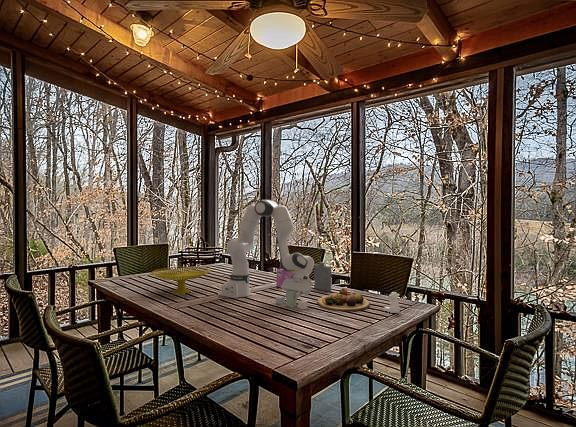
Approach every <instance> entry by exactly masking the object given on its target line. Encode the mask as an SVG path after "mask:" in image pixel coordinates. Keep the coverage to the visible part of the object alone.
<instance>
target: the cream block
mask: <svg viewBox="0 0 576 427" xmlns="http://www.w3.org/2000/svg"><path fill="white" fill-rule="evenodd" d="M308 303H309V301H308V300H303V299H301V300H299V301H298V303H297V308H298V309H302V310H306V309H308Z"/></svg>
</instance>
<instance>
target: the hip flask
mask: <svg viewBox="0 0 576 427" xmlns="http://www.w3.org/2000/svg"><path fill="white" fill-rule="evenodd" d="M313 269H314V281H313V285H314V286H313V287H314V289H316V290H320V291H324V292H330V293H331V292H332V266H329V265H325V262H323V261H320V262H319V264H318V263H314V267H313Z"/></svg>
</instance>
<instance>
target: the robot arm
mask: <svg viewBox="0 0 576 427" xmlns="http://www.w3.org/2000/svg"><path fill="white" fill-rule="evenodd" d="M261 217H272V218H273V220H274V223H275V228H276V240H277V246H278V250H279V256H280V258H279V264H280V268H282V269H283V270H285V271H291V270H293V269H296V273H295V275H294V277H293V278H290V277H288V278H286V279H285V281H284V282H283V284H282V285H281V287H280V288H281V290H282V291H285V293H286V292H287V291H296V292H297V295H295V296H294V299H297V300H298V298H299V297H301V295H305V296H308V295H309V294H310V293H311V291H312V289H313V288H312V287H313V285H314V281H312V280H311V278H310V277H309V276H310V275H311V274H312V271H313V269H314V267H315V260H314V259H313V258H312V257H311V256H310V255H303V254H302V253H300V252H294V253H291V254H290V252H289V251H290V250H289V246H288V239H289V237H290V236H291V235H292V233H293V232H294V222H293V220H292V216H291V214H290V212H289V209H288V208H287V207H286V206H285V205H281V204H279V203H278V202H277V201H275V200H272V199H259V200H258V201H256V203H255V204H254V203H252V204H249V205H248V207H247V209H246V210H245V212H244V214H243V216H242V219H241V222H240V225H239V227H238V228H239V236H238V237H237V238H233V239H231V240H230V241H229V242H227V245H226V251H227V252H228V253H229V256H230V258H231V265H232V268H231V269H232V273H231V274H230V275H228V277H229V280H227V281H226V282H225V283H224V284H222V287H221V290H220V291H219V292H218V293H217V295H218V296H222V297H228V298H232V299H233V298H235V299H236V298H245V297H249V296H251V295H252V292H251V289H250V273H249V270H250V268H249V265H250V264H249V261H248V258H247V255H246V253H249V252H250V251H252V250H253V248H254V246H255V244H254V237H255V232H256V230H257V228H258V225H259V222H260V220H261V219H262V218H261ZM284 297H285V298H286V294H285V296H284Z"/></svg>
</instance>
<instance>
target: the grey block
mask: <svg viewBox="0 0 576 427" xmlns="http://www.w3.org/2000/svg"><path fill="white" fill-rule="evenodd" d="M275 304H277V305H284V304H286V297H285V296H283V295H278V296H275Z"/></svg>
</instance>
